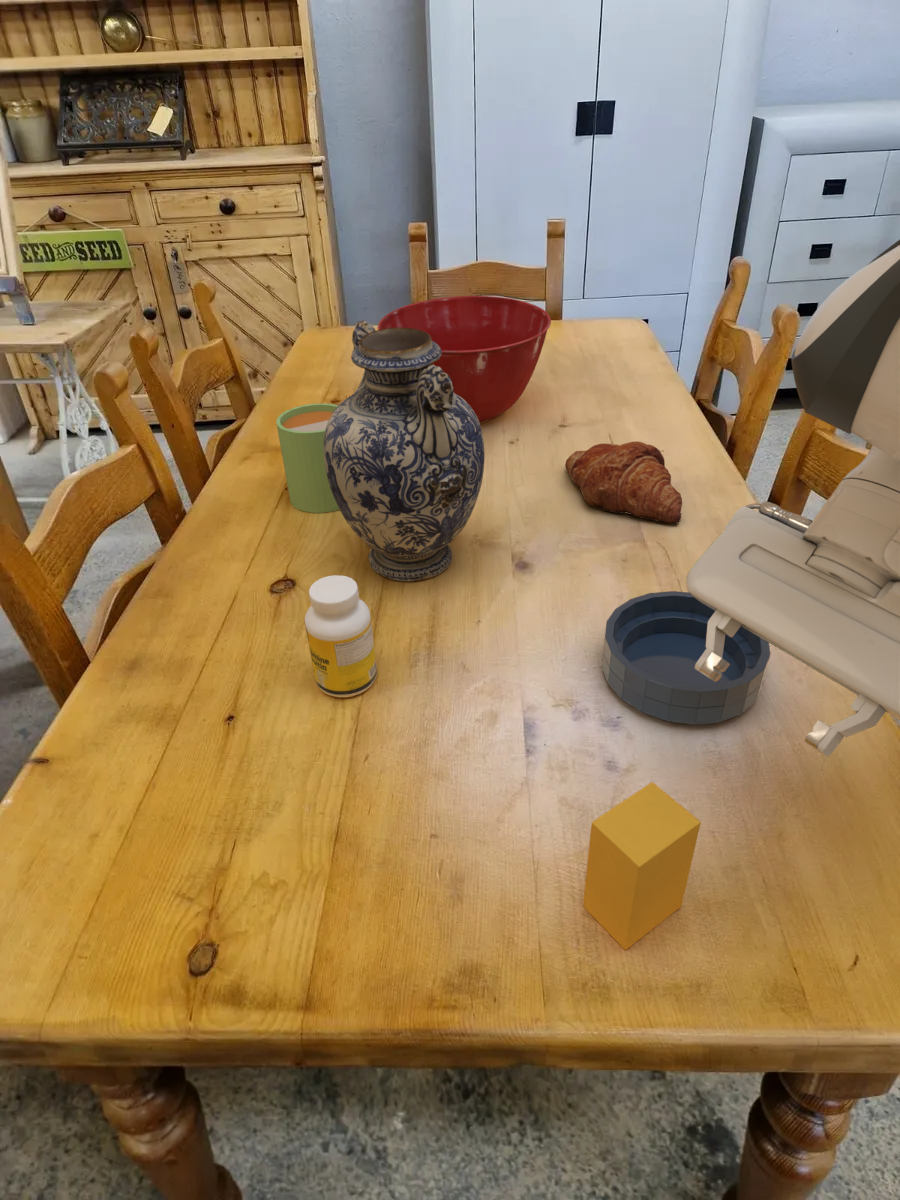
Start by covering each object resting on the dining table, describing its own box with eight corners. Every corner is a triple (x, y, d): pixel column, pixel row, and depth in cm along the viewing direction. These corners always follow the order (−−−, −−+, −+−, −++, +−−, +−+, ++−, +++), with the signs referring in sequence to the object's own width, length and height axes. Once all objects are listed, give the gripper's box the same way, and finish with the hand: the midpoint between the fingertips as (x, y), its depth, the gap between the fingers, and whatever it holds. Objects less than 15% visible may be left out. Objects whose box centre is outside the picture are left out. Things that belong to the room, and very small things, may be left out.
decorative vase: (520, 575, 97) (524, 347, 80) (385, 626, 89) (359, 387, 73) (434, 504, 112) (422, 300, 95) (312, 543, 104) (277, 329, 88)
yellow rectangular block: (681, 906, 60) (701, 821, 54) (625, 951, 57) (639, 867, 51) (638, 865, 63) (652, 781, 57) (582, 906, 60) (591, 821, 54)
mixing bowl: (511, 454, 124) (512, 356, 115) (355, 428, 134) (344, 336, 125) (569, 390, 144) (573, 303, 135) (429, 372, 154) (425, 290, 145)
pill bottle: (317, 661, 85) (301, 572, 78) (377, 656, 85) (366, 566, 78) (314, 703, 80) (296, 611, 73) (378, 697, 80) (367, 605, 73)
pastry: (552, 517, 108) (554, 463, 103) (566, 466, 120) (568, 416, 115) (680, 528, 104) (688, 473, 99) (681, 475, 116) (688, 424, 111)
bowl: (786, 721, 75) (798, 682, 72) (624, 737, 74) (630, 698, 71) (725, 622, 88) (732, 585, 85) (586, 634, 87) (589, 597, 84)
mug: (372, 501, 113) (363, 422, 106) (302, 519, 110) (288, 439, 103) (342, 466, 122) (332, 392, 115) (276, 482, 119) (262, 406, 112)
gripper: (736, 475, 60) (631, 626, 61) (1024, 602, 46) (880, 793, 47) (762, 509, 64) (664, 648, 66) (1031, 632, 51) (900, 805, 52)
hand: (757, 710), depth 56 cm, fingers open, 8 cm apart
